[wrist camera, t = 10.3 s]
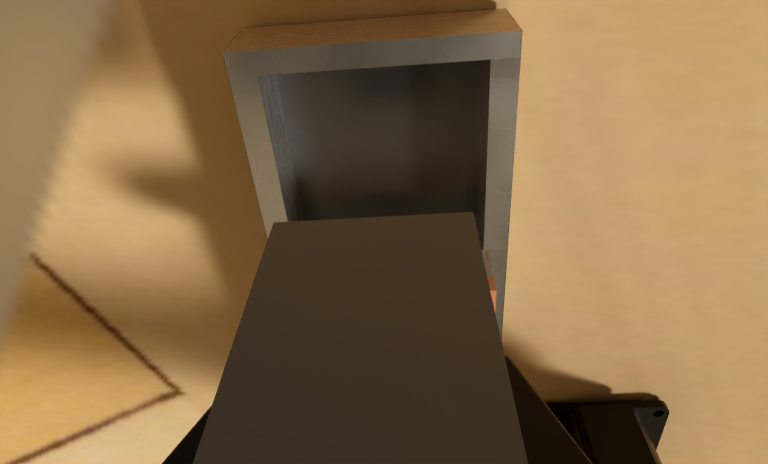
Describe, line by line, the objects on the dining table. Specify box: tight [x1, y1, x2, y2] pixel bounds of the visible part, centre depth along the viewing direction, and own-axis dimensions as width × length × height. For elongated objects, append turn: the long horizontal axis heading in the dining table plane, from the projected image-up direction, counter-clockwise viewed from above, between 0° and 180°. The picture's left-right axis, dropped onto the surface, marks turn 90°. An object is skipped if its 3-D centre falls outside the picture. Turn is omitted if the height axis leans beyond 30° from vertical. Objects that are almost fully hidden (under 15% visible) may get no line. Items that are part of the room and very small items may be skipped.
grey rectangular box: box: [222, 8, 523, 340], centre depth 19 cm, size 13×8×2 cm, turn 4°
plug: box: [193, 212, 528, 464], centre depth 9 cm, size 4×4×8 cm
